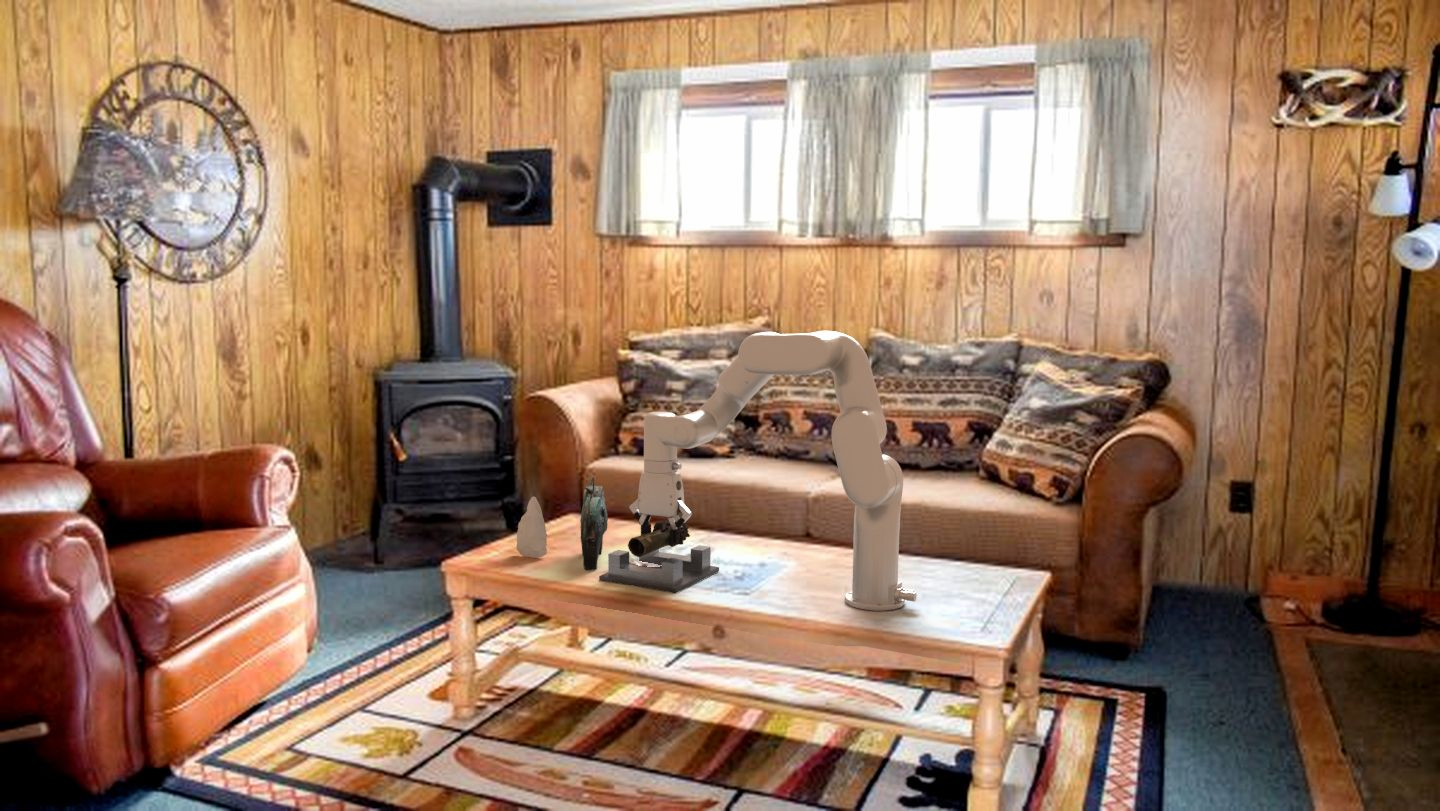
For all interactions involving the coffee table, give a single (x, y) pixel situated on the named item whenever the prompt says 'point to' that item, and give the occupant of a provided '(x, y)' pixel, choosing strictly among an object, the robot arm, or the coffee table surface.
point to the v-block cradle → (660, 569)
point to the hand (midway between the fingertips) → (660, 542)
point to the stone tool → (532, 532)
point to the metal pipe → (655, 539)
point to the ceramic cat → (593, 524)
